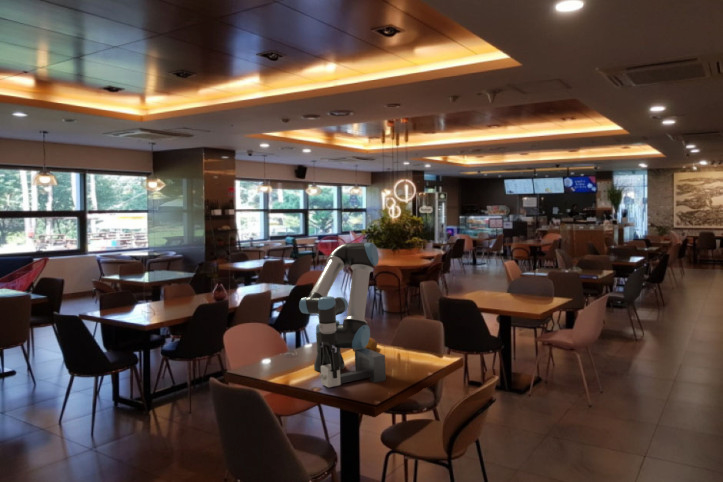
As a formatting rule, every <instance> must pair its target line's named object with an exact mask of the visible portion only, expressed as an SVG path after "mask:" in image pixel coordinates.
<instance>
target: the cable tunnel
mask: <svg viewBox="0 0 723 482" xmlns="http://www.w3.org/2000/svg"><path fill="white" fill-rule="evenodd" d="M354 364H355V365H354V367H355V368H354V369H355V371H357V370H362V369H366V370H368V371H369V376H370V377H369V381H370V382H372V383H374V384H375V383H376V384H377V383H379V382H380V383H381V382H384V381H385V382H386V381H387V377H386V356H385V354H382V353H381V352H378V351H372V350H369V349H367V348H363V349H358V350H355V351H354Z"/></svg>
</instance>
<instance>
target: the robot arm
mask: <svg viewBox="0 0 723 482" xmlns="http://www.w3.org/2000/svg"><path fill="white" fill-rule="evenodd" d="M379 258H380V257H379V252H378V248H377V245H375V244H374V243H373V242H367V241H366V242H346V243H343V244H340V245H338V247H337V246H336V248H335V249H334V250H332V252H331V253H330V254H329V255H328V256H327V259H326V265H325V267H324V268H323V269H322V271H321V274H320V275H319V277H318V279H317V281H316V283H315V284H314V286H313V288H312V290H311V291H310V293H309V295H308V296H305V297H302V298H301V299H300V300H299V302H298V303H299V305H298V308H299V311H300V312H301V313H302V314H306V315H307V314H308V315H317V314H318V324H317V325H316V327H315V338H316V339H315V341H316V356H315V359H314V365H313V367H314V368H313V369H314V371H317V372H320V373H321V366H323V365H328V364H330V365H331V370H330V371H331V386H333V387H336V386H335V385H337V370H340V371H341V370H344V369H345V367H346V366H345V360H344V358H343V356H342V352H341V349H347V350H348V349H349V350H353V349H363V348H365V347H366V345H367V344H368V342H369V338H371V329H370V326H369V325H368V321H366V319H365V315H366V308H367V298H368V290H369V283H370V282H369V281H370V274H371V272H373V270H374V267H376V266H378V264H379V260H380V259H379ZM347 266H350V268H351V270H352V276H351V283H350V284H351V285H350V290H349V291H350V292H349V299H348V300H349V301H347V300H346V298H345V297H342V296H337V297H334V296H328V294H329V292H330V291H331V288H332V286H333V285H334V282H336V279H337V278H338V275H339V274H340V272H341V271H342V270H344V268H345V267H347ZM346 311H347V315H346V317H345V318H344V319H343V321H342V323H340V321H339V320H337V316H339V315H343V314H344V313H345V312H346Z"/></svg>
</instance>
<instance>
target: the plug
mask: <svg viewBox="0 0 723 482" xmlns="http://www.w3.org/2000/svg"><path fill="white" fill-rule="evenodd" d="M330 370H331V365H330V364H328V365H323V366H321V372H320V374H319V379H320V383H321V385H323V386H325V387H327V388H333V387H338V386H341V385H342V384H346V383H349V382H355V381H358V380H364V379H367V378H369V379H370V374H369V371H368V370H366V369H362V370H357V371H356V370H353V371H349V372H344V373H341V370H337V385H335V386H331V371H330Z"/></svg>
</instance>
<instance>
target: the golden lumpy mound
mask: <svg viewBox="0 0 723 482" xmlns="http://www.w3.org/2000/svg"><path fill="white" fill-rule="evenodd" d="M377 347H378V341H377V340H375V339H374V338H373V337H370V338H369V342H368V344H367V345H366V347H365V348H367V349H369V350H372V351H375V350H377ZM352 350H353V351H354V352H355V350H358V349H352ZM375 352H376V351H375Z"/></svg>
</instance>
